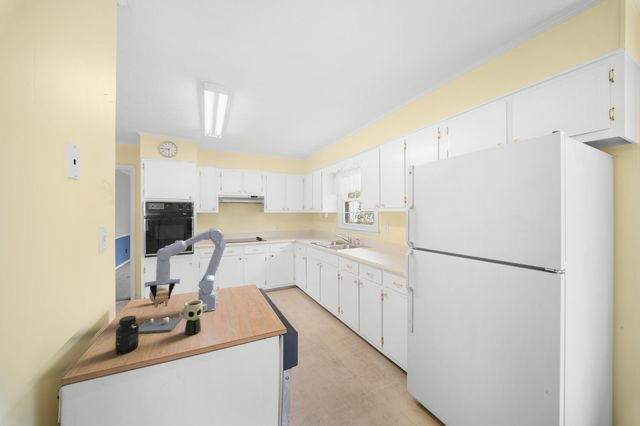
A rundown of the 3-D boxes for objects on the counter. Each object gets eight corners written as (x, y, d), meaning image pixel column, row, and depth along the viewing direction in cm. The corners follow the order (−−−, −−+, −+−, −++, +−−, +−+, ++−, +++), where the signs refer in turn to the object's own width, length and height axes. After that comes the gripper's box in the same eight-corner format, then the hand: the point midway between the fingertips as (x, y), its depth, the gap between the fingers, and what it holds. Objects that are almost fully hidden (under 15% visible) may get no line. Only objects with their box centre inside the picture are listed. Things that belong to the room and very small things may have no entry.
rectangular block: (157, 299, 119) (158, 291, 119) (169, 298, 122) (169, 289, 122) (154, 308, 109) (154, 298, 109) (167, 306, 111) (167, 297, 111)
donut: (170, 300, 137) (170, 283, 137) (169, 302, 134) (170, 285, 134) (149, 303, 132) (149, 286, 132) (148, 305, 129) (148, 287, 129)
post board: (181, 319, 113) (182, 312, 113) (171, 331, 102) (171, 323, 102) (147, 321, 111) (148, 314, 111) (132, 334, 99) (132, 326, 99)
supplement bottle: (110, 352, 86) (111, 320, 86) (131, 342, 92) (132, 313, 92) (122, 356, 83) (123, 323, 84) (142, 346, 90) (143, 316, 90)
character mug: (180, 339, 95) (181, 308, 95) (177, 333, 101) (177, 303, 101) (208, 331, 103) (209, 302, 103) (203, 325, 108) (204, 297, 108)
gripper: (143, 275, 108) (142, 304, 108) (179, 272, 115) (178, 299, 115) (146, 272, 115) (145, 299, 114) (180, 269, 122) (179, 295, 121)
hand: (162, 299), depth 115 cm, fingers closed on rectangular block, 5 cm apart
